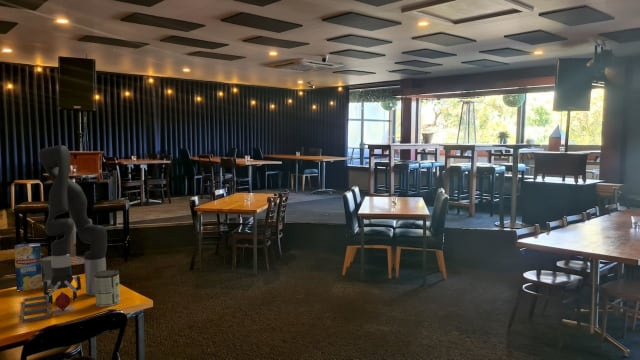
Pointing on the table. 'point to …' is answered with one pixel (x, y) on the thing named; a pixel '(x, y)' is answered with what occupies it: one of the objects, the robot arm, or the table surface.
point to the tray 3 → (35, 313)
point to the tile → (67, 310)
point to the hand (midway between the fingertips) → (63, 301)
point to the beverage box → (28, 266)
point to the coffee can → (107, 288)
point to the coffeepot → (46, 269)
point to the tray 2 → (36, 305)
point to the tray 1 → (35, 299)
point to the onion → (62, 301)
